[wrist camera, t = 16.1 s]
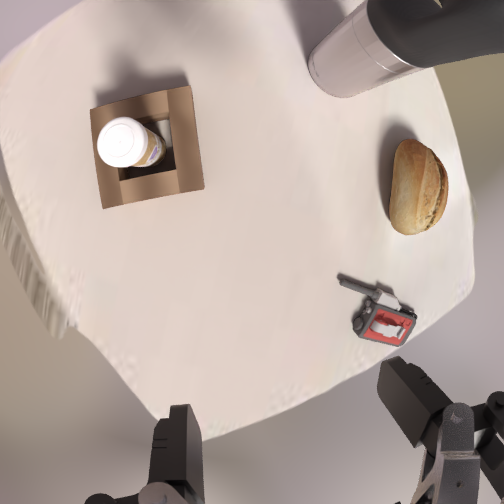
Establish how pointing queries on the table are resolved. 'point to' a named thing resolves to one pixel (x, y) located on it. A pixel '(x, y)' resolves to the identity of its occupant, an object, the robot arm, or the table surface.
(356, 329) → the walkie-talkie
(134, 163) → the sprinkles bottle
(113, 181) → the walnut bottle stand
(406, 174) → the bread roll
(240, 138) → the table surface
